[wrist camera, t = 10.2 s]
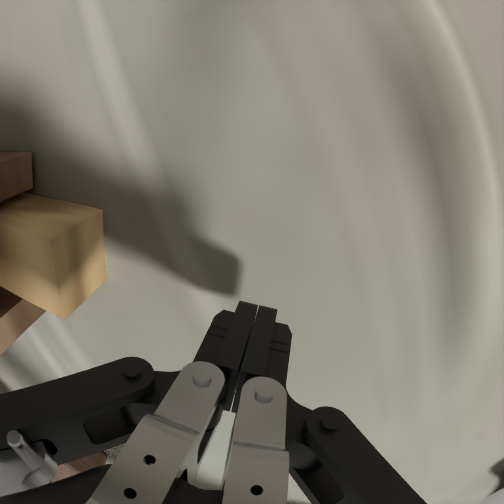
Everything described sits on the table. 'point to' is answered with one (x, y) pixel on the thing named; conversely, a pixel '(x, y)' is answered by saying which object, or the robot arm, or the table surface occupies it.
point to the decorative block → (79, 466)
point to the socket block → (3, 301)
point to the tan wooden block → (51, 251)
